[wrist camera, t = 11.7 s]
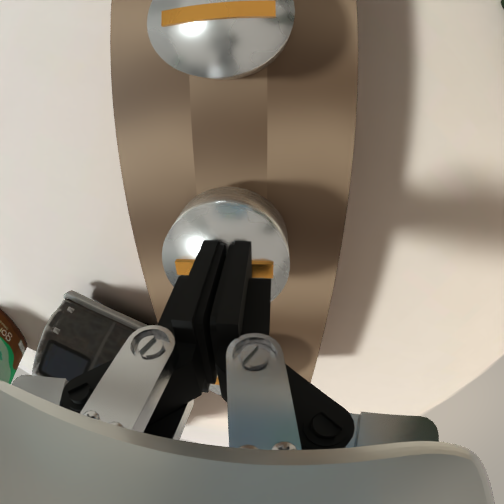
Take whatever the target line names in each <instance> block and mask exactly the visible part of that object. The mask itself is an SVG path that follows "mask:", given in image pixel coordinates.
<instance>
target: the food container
mask: <svg viewBox="0 0 504 504" xmlns="http://www.w3.org/2000/svg"><path fill="white" fill-rule="evenodd" d="M26 348H27V343H26V341H25V339H24V336H23V335H22V333H21V332H20V330H19V329H18V327H17V326H16V325H15V324H14V322H13V321H12V320H11V319H10V318H9V317H8V316H7V314H5V313H4V312H3V311H2V310H1V309H0V380H1V381H4V382H7V383H9V384H11V382H12V379H13V377H14V374H15V372H16V370H17V368H18V365H19V363H20V361H21V359H22V356H23V354H24V352H25V350H26Z"/></svg>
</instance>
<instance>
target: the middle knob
mask: <svg viewBox="0 0 504 504" xmlns="http://www.w3.org/2000/svg"><path fill="white" fill-rule="evenodd" d="M203 240H219V241H220V244H222V245H225V246H226V255H227V251H228V247H229V245H234V244H235V241H251V246H252V278H271V301H273V300H274V299H275V298H276V297H277V296H278V295H279V294H280V292H281V291H282V290H283V288H284V286H285V284H286V282H287V279H288V276H289V271H290V258H289V247H288V236H287V229H286V226H285V223H284V220H283V218H282V216H281V215H280V213H279V212H278V210H277V209H276V208H275V207H274V206H273V204H272V203H270V202H269V201H268V200H267V199H266V198H264V197H262V196H261V195H259V194H257V193H255V192H253V191H251V190H247V189H244V188H239V187H229V186H227V187H218V188H213V189H210V190H207V191H204V192H202V193H200V194H199V195H197V196H196V197H194V198H193V199H192V200H191V201H190V202H189V203H188V204H187V205H186V206H185V208H184V209H183V210H182V212H181V213H180V215H179V216H178V218H177V220H176V221H175V223H174V224H173V226H172V227H171V229H170V230H169V232H168V234H167V236H166V238H165V241H164V244H163V248H162V262H163V267H164V271H165V273H166V275H167V278H168V279H169V281H170V283H171V284H172V286H173V287H174V286H175V283H176V281H177V279H178V277H179V276H180V275H189V273H190V270H191V268H192V266H193V263H194V261H195V259H196V256H197V254H198V252H199V249H200V247H201V245H202V242H203Z"/></svg>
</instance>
